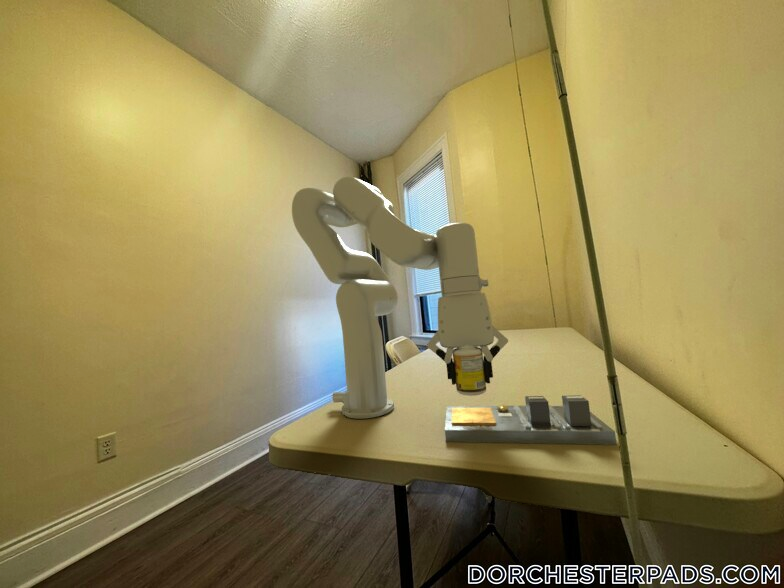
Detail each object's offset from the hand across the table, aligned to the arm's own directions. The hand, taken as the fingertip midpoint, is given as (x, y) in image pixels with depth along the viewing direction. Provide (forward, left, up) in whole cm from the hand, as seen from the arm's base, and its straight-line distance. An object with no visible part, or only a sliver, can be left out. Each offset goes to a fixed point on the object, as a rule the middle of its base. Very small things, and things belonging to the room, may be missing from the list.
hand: (470, 381), depth 55 cm
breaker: (+17, -3, -7) cm, 18 cm away
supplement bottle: (0, 0, -2) cm, 2 cm away
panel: (+8, 0, -9) cm, 12 cm away
